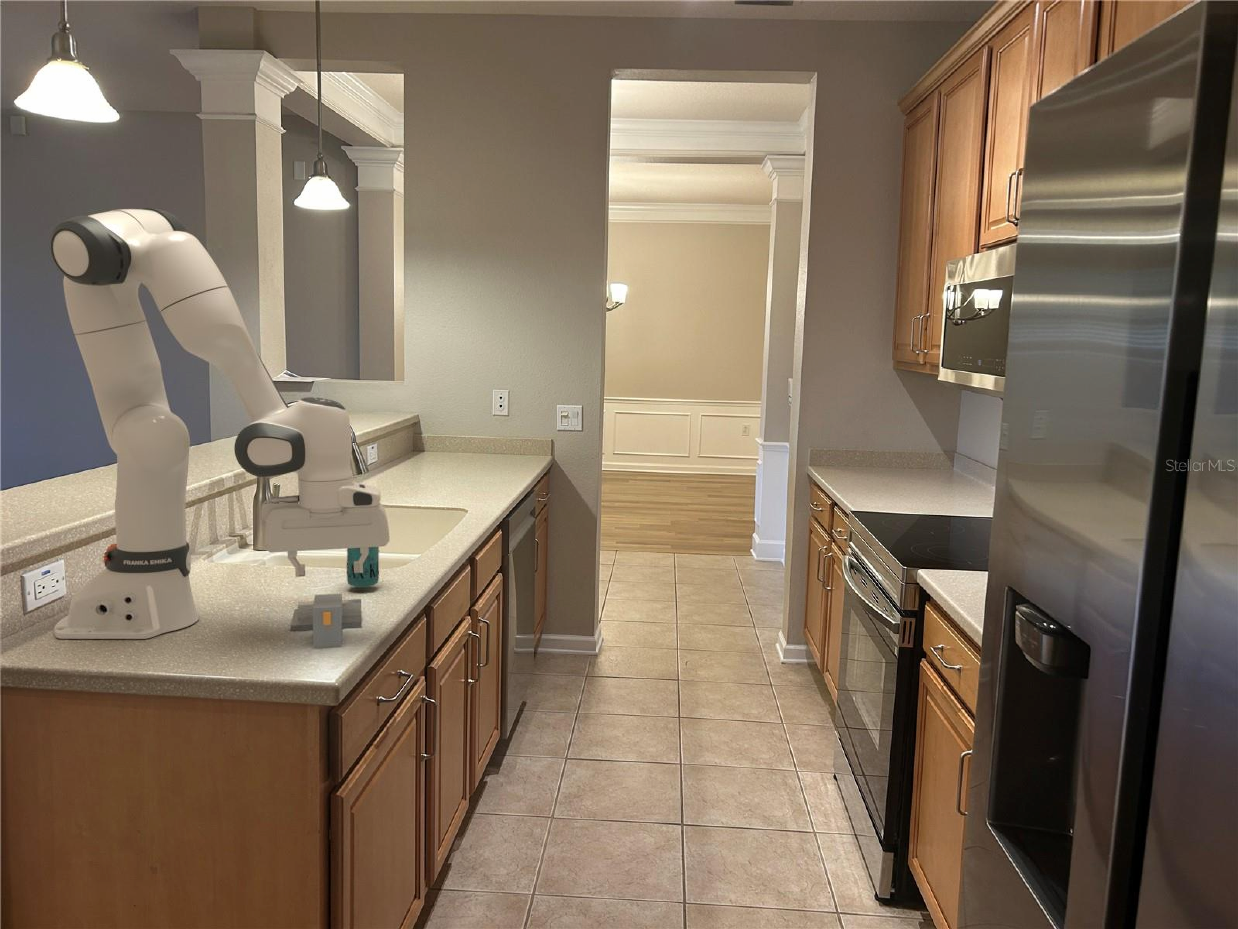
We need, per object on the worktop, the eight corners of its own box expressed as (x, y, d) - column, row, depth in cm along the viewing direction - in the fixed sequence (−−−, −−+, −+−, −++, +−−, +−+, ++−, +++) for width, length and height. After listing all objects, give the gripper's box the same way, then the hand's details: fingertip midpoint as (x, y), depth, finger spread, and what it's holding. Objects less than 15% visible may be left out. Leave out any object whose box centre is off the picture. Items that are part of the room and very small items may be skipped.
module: (313, 650, 152) (312, 609, 151) (315, 633, 161) (315, 594, 160) (341, 648, 154) (340, 608, 153) (342, 632, 162) (341, 593, 161)
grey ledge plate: (290, 631, 161) (290, 611, 161) (294, 614, 171) (294, 596, 170) (361, 627, 165) (361, 608, 164) (361, 611, 174) (361, 593, 174)
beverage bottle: (340, 589, 189) (339, 493, 186) (370, 583, 193) (369, 490, 190) (356, 596, 184) (355, 498, 181) (386, 590, 189) (385, 494, 186)
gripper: (258, 500, 148) (262, 583, 150) (388, 495, 153) (390, 575, 155) (262, 493, 154) (266, 573, 156) (387, 488, 159) (390, 565, 161)
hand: (329, 574), depth 156 cm, fingers open, 8 cm apart
